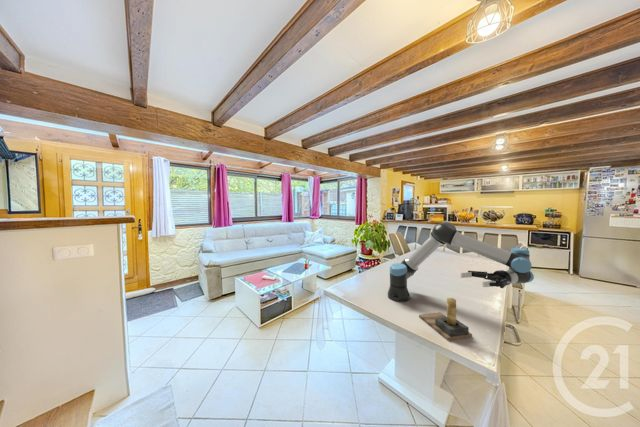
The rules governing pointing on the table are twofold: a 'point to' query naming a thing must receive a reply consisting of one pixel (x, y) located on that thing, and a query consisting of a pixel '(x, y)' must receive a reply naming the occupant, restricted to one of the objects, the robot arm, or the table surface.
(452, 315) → the peg
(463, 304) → the table surface
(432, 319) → the board
